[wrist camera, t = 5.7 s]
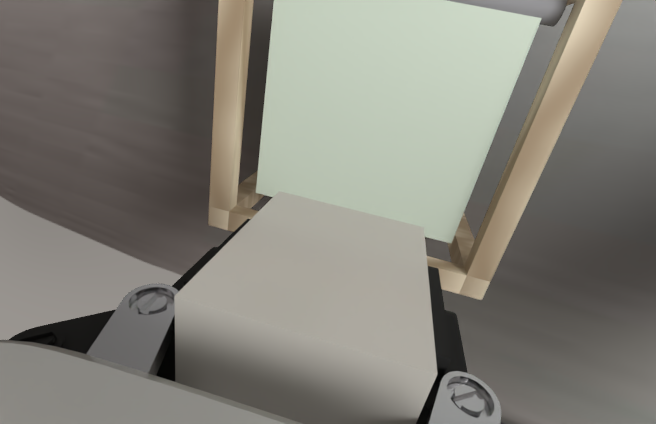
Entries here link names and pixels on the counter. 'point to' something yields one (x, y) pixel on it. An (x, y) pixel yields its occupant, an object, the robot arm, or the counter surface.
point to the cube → (313, 317)
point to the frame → (497, 227)
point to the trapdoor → (391, 101)
